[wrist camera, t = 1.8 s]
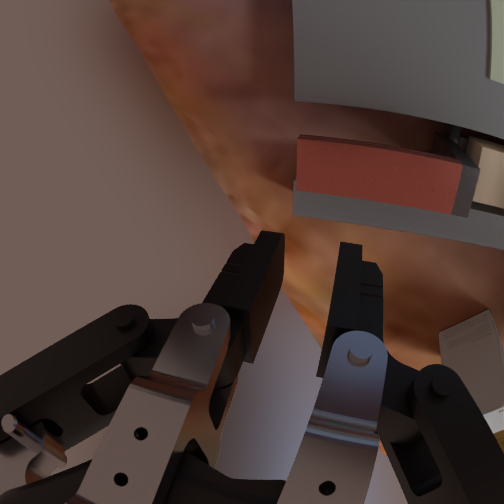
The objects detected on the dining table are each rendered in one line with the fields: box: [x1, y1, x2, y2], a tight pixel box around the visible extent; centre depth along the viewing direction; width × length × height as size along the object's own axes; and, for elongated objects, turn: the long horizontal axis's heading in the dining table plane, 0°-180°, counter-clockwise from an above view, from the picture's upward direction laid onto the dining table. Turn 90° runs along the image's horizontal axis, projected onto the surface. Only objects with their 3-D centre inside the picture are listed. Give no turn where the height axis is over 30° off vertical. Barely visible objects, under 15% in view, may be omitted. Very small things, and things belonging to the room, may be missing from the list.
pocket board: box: [292, 0, 504, 250], centre depth 16 cm, size 26×22×4 cm
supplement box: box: [438, 309, 504, 433], centre depth 26 cm, size 7×7×13 cm
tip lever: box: [296, 124, 481, 218], centre depth 17 cm, size 23×6×8 cm, turn 92°
